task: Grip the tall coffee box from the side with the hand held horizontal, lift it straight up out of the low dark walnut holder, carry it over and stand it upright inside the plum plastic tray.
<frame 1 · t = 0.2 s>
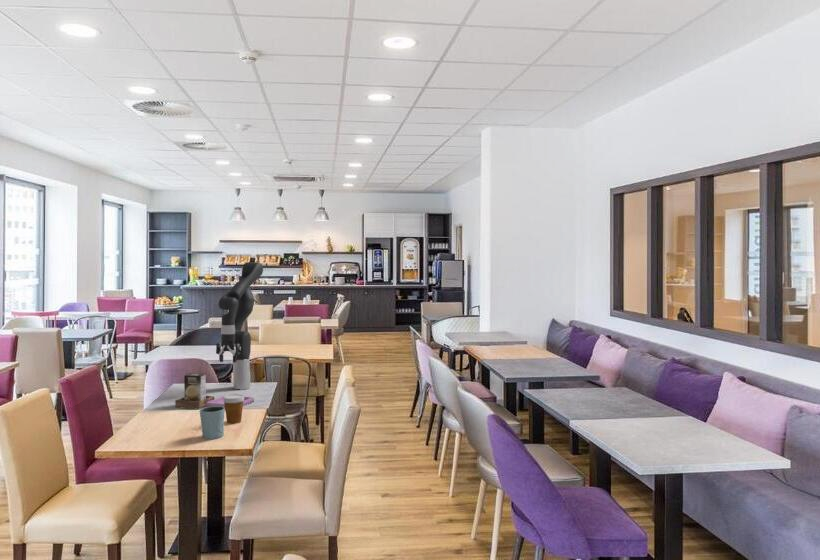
hand: (228, 362, 332), 18 cm above the table, tool pointing down, fingers open, 8 cm apart
teal cup: (212, 437, 254), on the table
holder: (195, 405, 307), on the table
tray: (230, 404, 308), on the table
coffee box: (195, 405, 307), resting in holder
disposable coffee cup: (234, 422, 276), on the table
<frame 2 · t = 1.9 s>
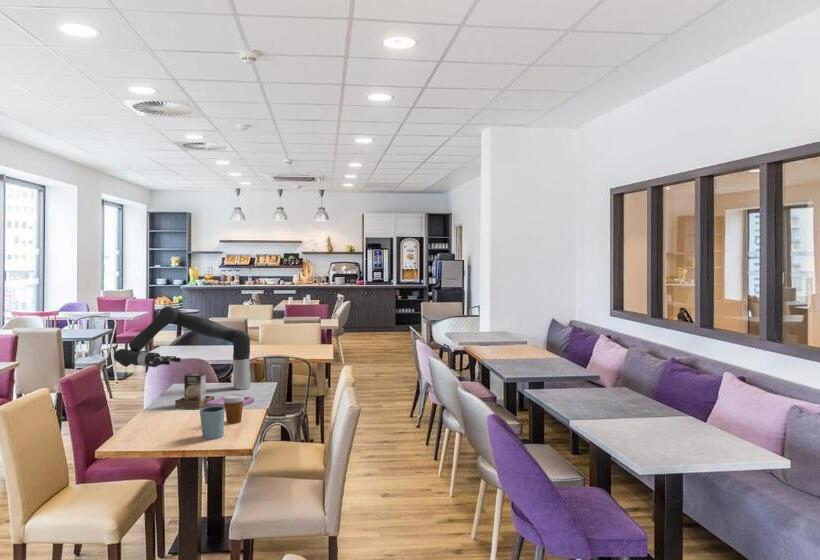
hand: (174, 361, 310), 22 cm above the table, tool horizontal, fingers open, 8 cm apart
nothing on the table moved.
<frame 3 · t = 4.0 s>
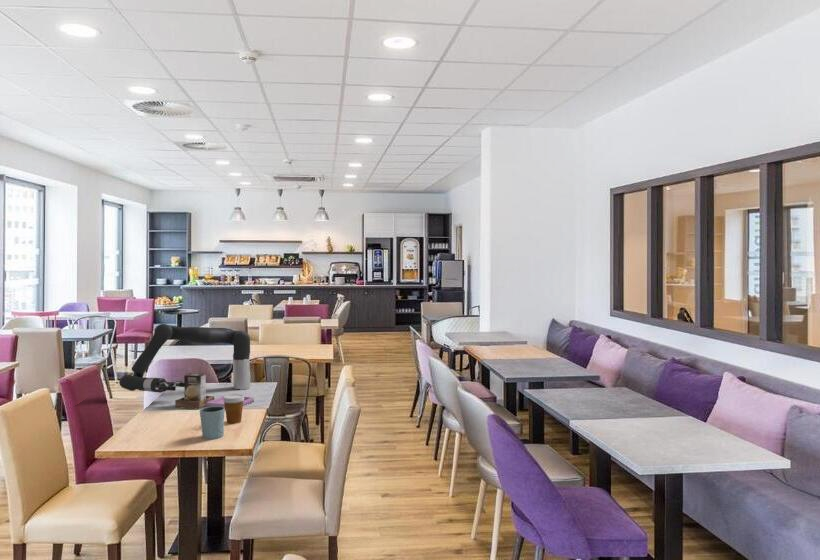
hand: (180, 386, 310), 9 cm above the table, tool horizontal, fingers open, 8 cm apart
nothing on the table moved.
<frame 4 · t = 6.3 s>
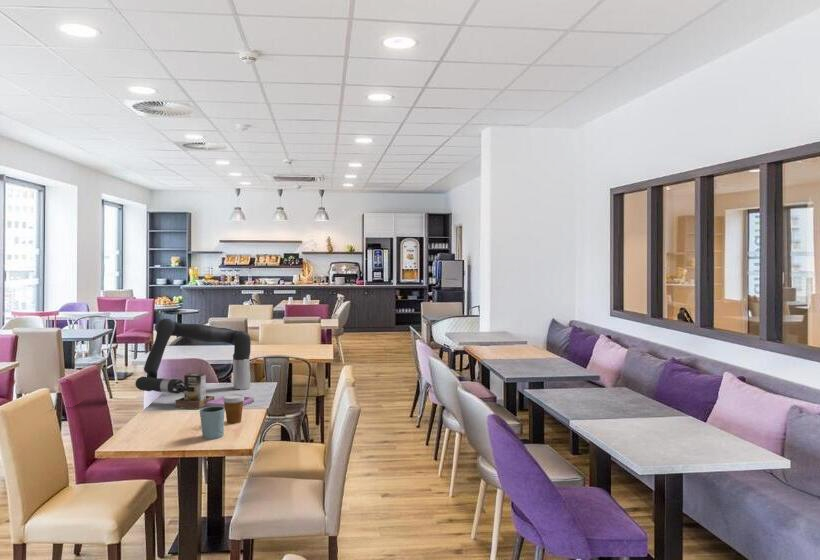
hand: (198, 388, 306), 9 cm above the table, tool horizontal, fingers closed on coffee box, 7 cm apart
coffee box: (195, 405, 307), resting in holder, touching gripper
everything else where it was.
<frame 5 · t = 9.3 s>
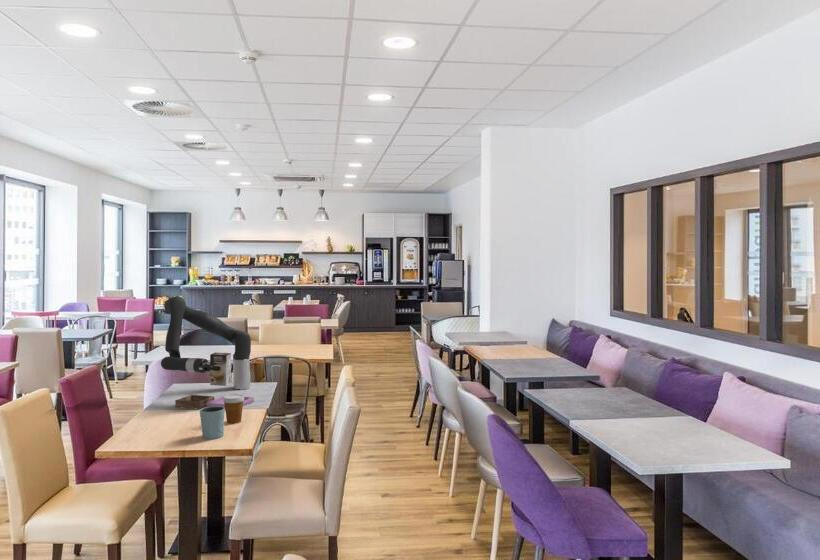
hand: (224, 367, 306), 20 cm above the table, tool horizontal, fingers closed on coffee box, 7 cm apart
coffee box: (220, 384, 307), point 10 cm above the table, touching gripper
everything else where it was.
when the fingers open (11 cm above the table, at t = 12.4 s): coffee box drops 1 cm, resting on tray.
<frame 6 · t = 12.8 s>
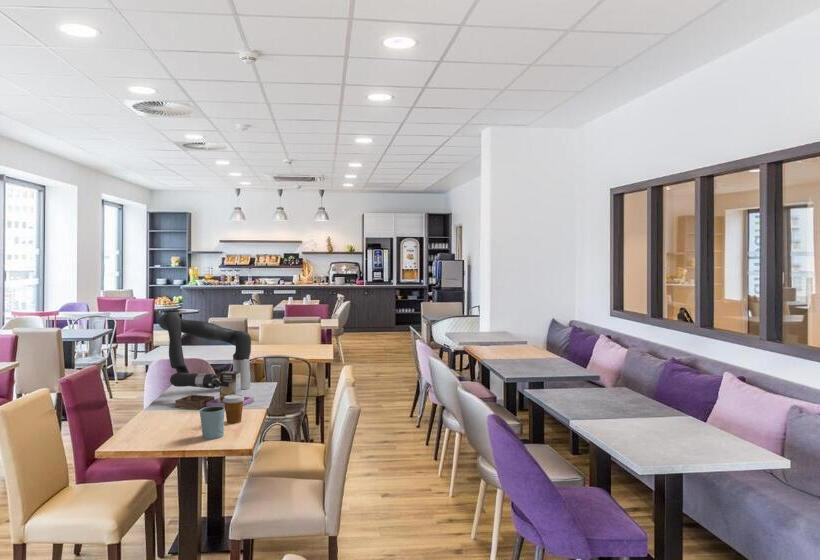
hand: (233, 382, 307), 12 cm above the table, tool horizontal, fingers open, 8 cm apart
coffee box: (230, 403, 308), point 1 cm above the table, touching tray
everything else where it was.
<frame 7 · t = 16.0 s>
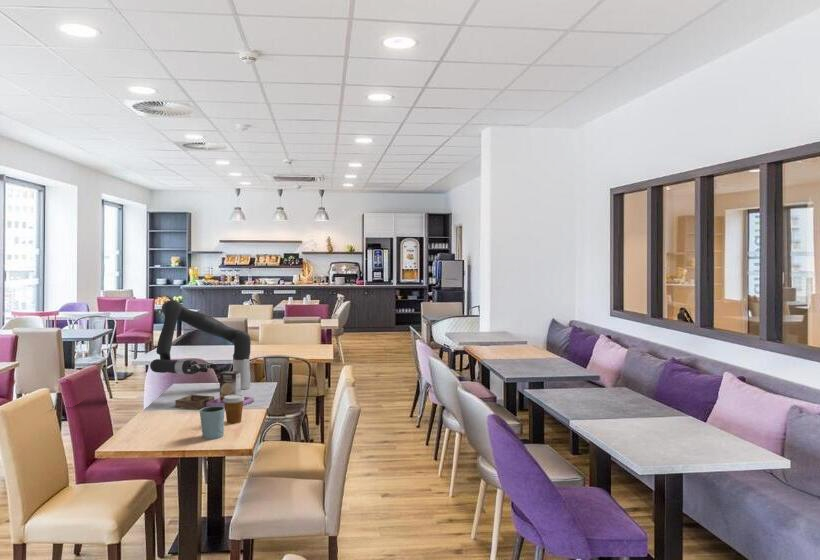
hand: (212, 368, 311), 18 cm above the table, tool horizontal, fingers open, 8 cm apart
nothing on the table moved.
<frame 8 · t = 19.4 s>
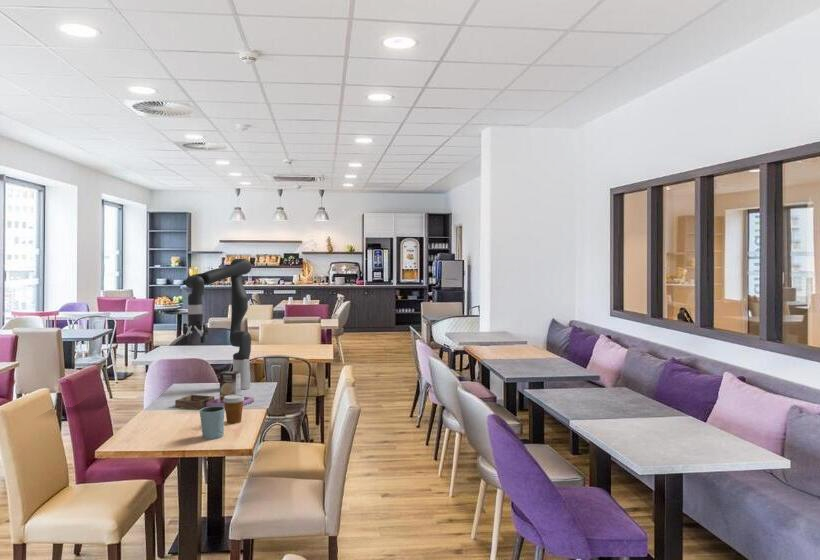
hand: (195, 342, 321), 30 cm above the table, tool pointing down, fingers open, 8 cm apart
nothing on the table moved.
at the end: coffee box inside the target area on the tray (0.1 cm from its centre), point 0.8 cm above the tray's base; coffee box tilted 0°; the gripper is holding nothing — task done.
